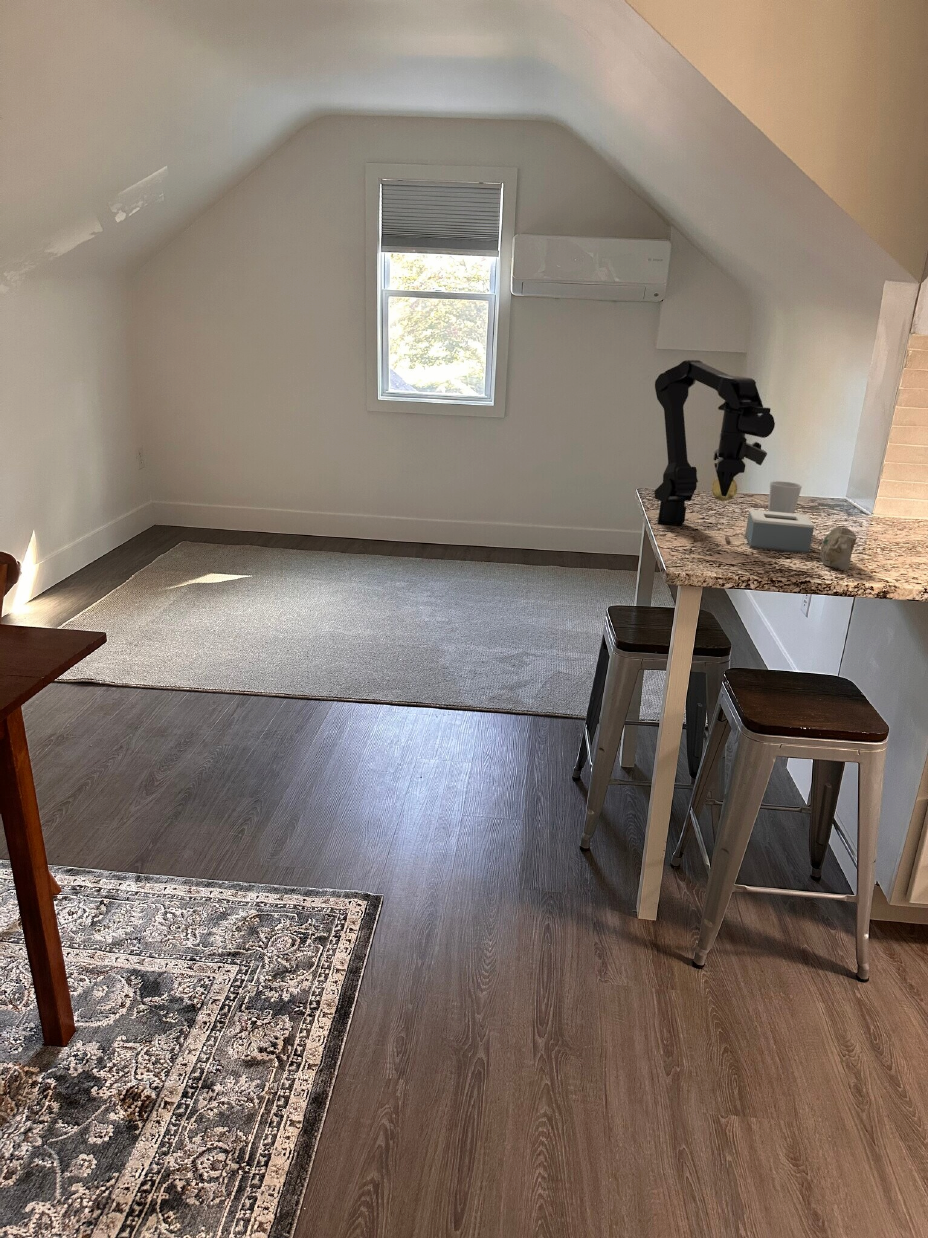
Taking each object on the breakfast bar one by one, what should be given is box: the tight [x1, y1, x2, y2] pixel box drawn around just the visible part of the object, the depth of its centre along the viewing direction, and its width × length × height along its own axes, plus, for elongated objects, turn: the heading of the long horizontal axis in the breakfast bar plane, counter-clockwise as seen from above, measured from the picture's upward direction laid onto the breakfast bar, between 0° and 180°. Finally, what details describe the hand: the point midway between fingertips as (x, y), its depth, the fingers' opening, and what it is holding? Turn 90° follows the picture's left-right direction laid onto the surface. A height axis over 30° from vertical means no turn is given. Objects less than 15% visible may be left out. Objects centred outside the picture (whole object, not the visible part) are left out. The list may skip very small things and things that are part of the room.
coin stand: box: [693, 532, 731, 545], centre depth 228 cm, size 9×5×1 cm, turn 79°
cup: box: [767, 480, 802, 514], centre depth 243 cm, size 8×8×12 cm
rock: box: [819, 526, 858, 572], centre depth 211 cm, size 12×7×10 cm, turn 159°
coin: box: [711, 476, 738, 502], centre depth 224 cm, size 6×2×6 cm, turn 79°
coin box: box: [744, 509, 815, 554], centre depth 227 cm, size 14×12×7 cm
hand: (723, 494), depth 224 cm, fingers closed on coin, 2 cm apart
